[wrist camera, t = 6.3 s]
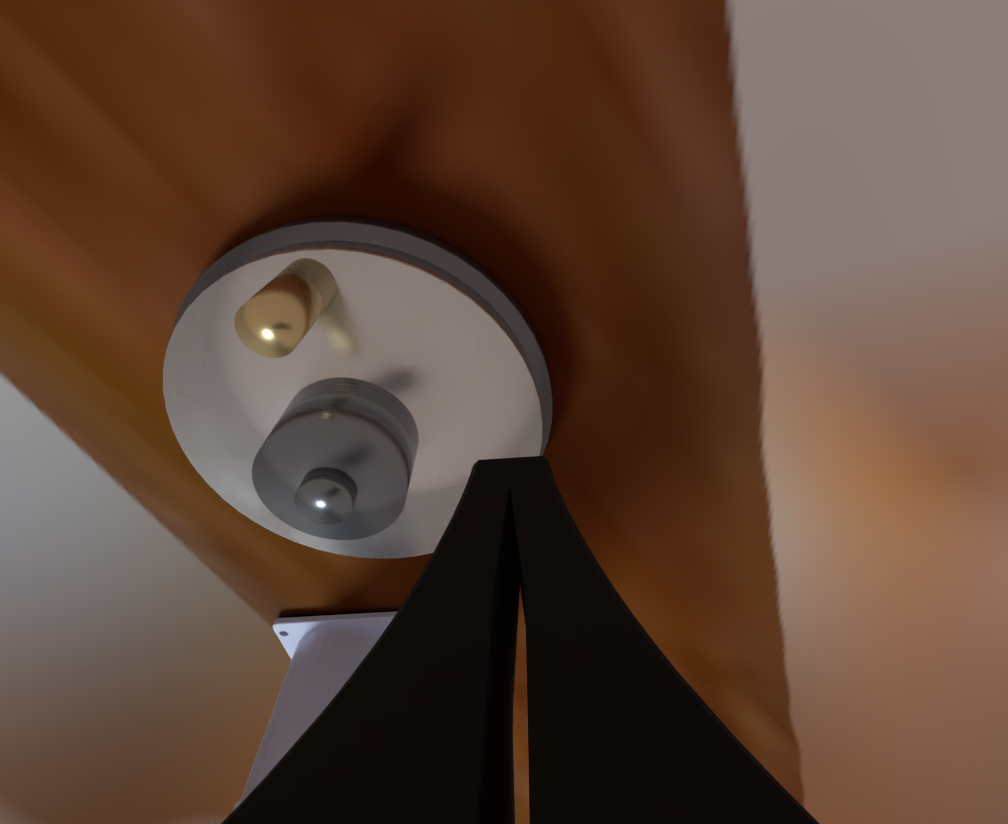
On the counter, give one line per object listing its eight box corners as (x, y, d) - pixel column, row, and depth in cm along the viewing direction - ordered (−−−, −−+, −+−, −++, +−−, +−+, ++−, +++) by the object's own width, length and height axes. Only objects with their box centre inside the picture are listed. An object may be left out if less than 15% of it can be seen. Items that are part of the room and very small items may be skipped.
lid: (428, 480, 20) (414, 554, 17) (307, 487, 21) (271, 561, 17) (406, 372, 18) (384, 437, 14) (266, 381, 18) (215, 447, 15)
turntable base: (556, 517, 25) (558, 532, 24) (263, 536, 26) (255, 551, 25) (541, 194, 17) (543, 200, 16) (108, 237, 17) (88, 245, 16)
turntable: (548, 528, 24) (556, 618, 20) (260, 547, 24) (213, 637, 20) (528, 220, 16) (536, 266, 12) (106, 261, 17) (-17, 317, 13)
